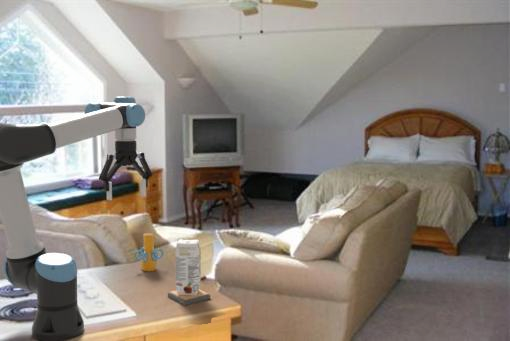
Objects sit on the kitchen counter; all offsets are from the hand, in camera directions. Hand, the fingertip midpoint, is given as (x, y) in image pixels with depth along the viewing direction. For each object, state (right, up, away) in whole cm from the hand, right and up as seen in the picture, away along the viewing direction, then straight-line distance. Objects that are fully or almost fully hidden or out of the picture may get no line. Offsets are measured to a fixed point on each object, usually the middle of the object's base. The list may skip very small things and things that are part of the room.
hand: (126, 198), depth 216 cm
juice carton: (+23, -34, -3) cm, 41 cm away
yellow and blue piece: (+3, -31, +30) cm, 44 cm away
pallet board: (+23, -36, -3) cm, 43 cm away
